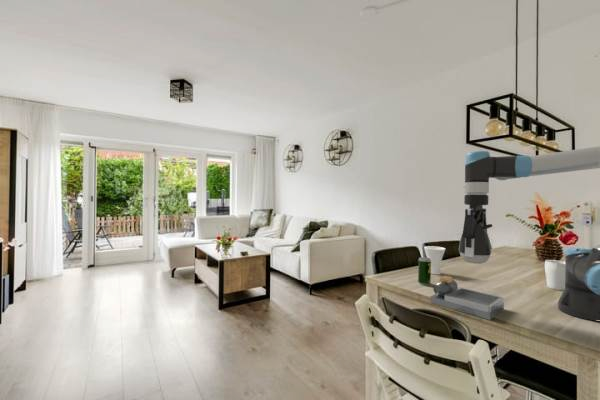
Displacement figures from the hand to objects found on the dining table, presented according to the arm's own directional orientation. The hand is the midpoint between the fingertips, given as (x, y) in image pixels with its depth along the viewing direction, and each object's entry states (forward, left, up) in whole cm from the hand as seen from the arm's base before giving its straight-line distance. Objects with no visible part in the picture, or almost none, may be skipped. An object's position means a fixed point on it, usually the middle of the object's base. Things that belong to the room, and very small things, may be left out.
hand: (474, 254), depth 106 cm
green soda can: (+26, -14, -20) cm, 35 cm away
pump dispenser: (0, 0, -3) cm, 3 cm away
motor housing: (+3, 0, -20) cm, 20 cm away
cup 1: (+32, -37, -20) cm, 53 cm away
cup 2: (-15, -56, -20) cm, 61 cm away
